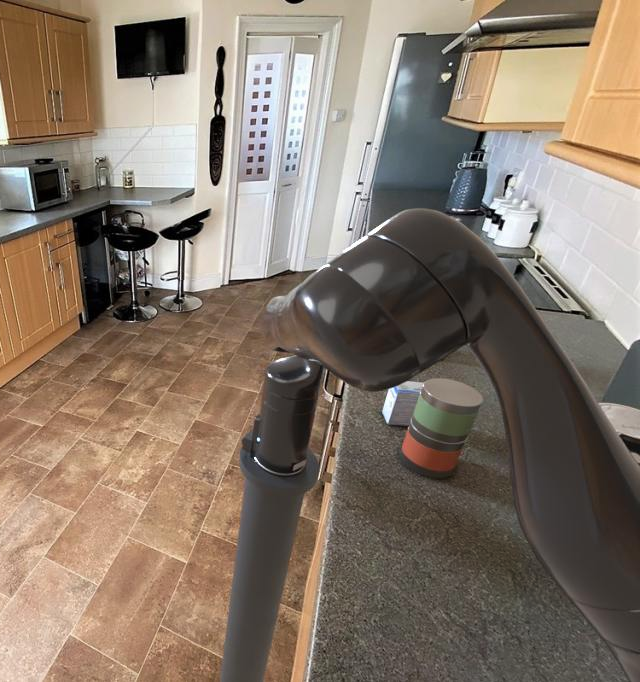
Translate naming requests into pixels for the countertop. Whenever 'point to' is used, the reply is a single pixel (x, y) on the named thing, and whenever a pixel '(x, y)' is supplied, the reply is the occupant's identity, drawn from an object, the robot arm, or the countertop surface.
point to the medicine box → (401, 403)
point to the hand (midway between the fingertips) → (615, 424)
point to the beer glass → (624, 423)
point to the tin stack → (440, 427)
